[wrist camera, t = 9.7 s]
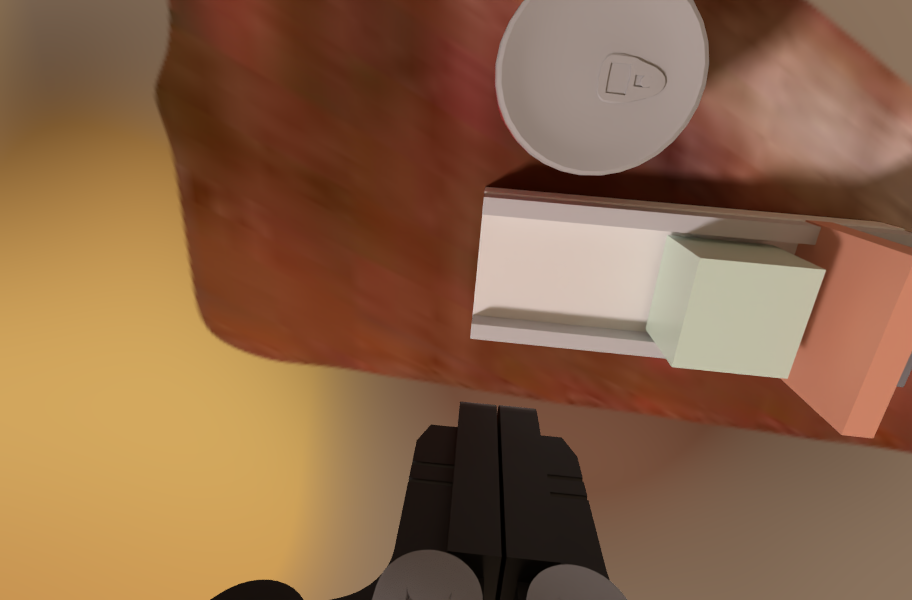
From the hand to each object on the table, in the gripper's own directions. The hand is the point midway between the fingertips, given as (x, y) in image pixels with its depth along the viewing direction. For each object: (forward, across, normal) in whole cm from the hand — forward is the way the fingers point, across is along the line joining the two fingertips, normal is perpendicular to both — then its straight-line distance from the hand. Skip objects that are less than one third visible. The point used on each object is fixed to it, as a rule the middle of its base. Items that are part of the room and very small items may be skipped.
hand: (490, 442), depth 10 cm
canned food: (+24, -4, -7) cm, 25 cm away
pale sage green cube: (+21, -13, +3) cm, 25 cm away
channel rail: (+23, -12, +3) cm, 26 cm away
